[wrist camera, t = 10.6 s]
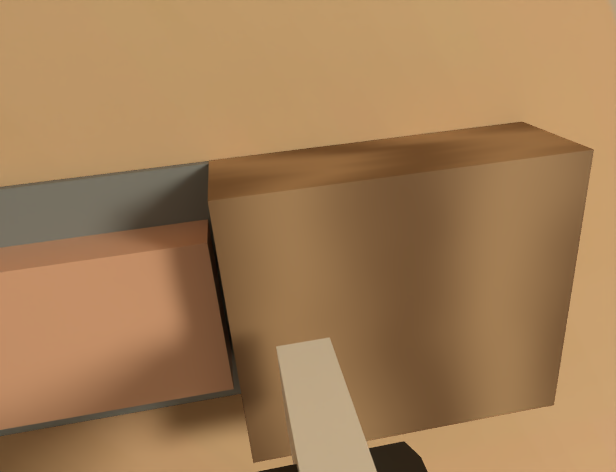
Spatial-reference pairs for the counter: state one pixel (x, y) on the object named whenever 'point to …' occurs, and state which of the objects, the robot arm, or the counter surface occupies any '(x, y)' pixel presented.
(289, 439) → the robot arm
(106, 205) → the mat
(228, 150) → the counter surface
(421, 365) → the brown wooden flat block
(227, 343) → the salmon orange flat block
